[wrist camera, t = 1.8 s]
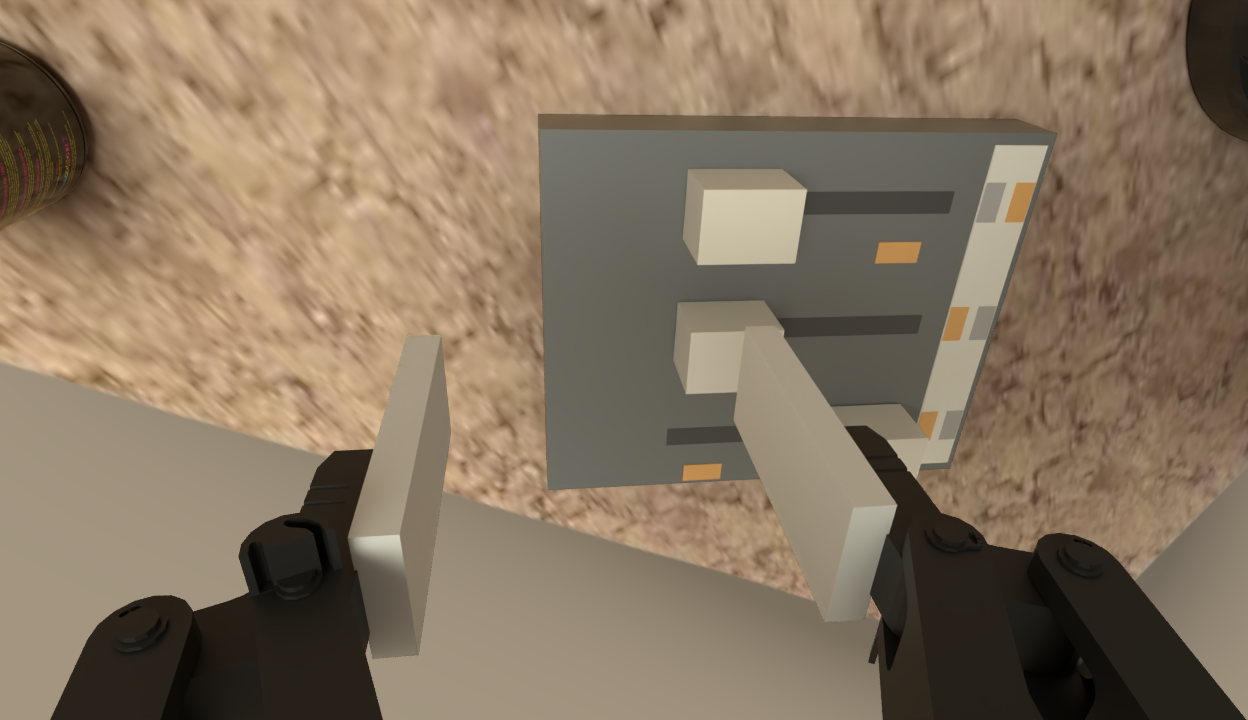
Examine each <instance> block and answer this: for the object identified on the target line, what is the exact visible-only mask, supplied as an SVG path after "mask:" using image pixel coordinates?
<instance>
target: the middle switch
mask: <svg viewBox="0 0 1248 720" xmlns="http://www.w3.org/2000/svg"><path fill="white" fill-rule="evenodd" d="M751 326H776V327H777V328H778V330H779V331H780V333H781V334H782V336H783V337H784V329H783V327H782V326H781V324H780V323H779V321H778V320H777V319H776V317H775V316H774V314H773V313H772V311H771V310H770V308H769V307H768V306H767V304H766V303H765V301H764V300H753V301H708V302H678V306H677V319H676V332H675V345H674V357H673V361H674V363H675V366H676V369H677V372H678V374H679V377H680V380H681V382H682V385H683V388H684V390H685V393H686V394H703V393H729V392H737V389H738V382H739V374H740V366H741V359H742V351H743V343H744V336H745V328H746V327H751Z"/></svg>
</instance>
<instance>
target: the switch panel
mask: <svg viewBox="0 0 1248 720" xmlns="http://www.w3.org/2000/svg"><path fill="white" fill-rule="evenodd" d="M1056 136H1057V133H1055V132H1052V131H1049V130H1046V129H1043V128H1040V127H1037V126H1034V125H1031V124H1028V123H1026V122H1023V121H1020V120H1017V119H952V118H857V117H762V116H667V115H572V114H538V137H539V178H540V219H541V260H542V301H543V342H544V383H545V424H546V460H547V480H548V490H562V489H581V488H599V487H618V486H636V485H655V484H673V483H692V482H711V481H729V480H748V479H760V477H759V475H758V473H757V471H756V469H755V466H754V464H753V462H752V460H751V458H750V455H749V453H748V451H747V449H746V446H745V444H744V442H743V440H742V438H741V435H740V433H739V431H738V429H737V427H736V424H735V422H734V412H735V404H736V397H737V392H729V393H703V394H686V393H685V390H684V388H683V385H682V382H681V380H680V377H679V374H678V372H677V369H676V366H675V363H674V361H673V357H674V345H675V332H676V319H677V306H678V302H708V301H753V300H764V301H765V303H766V304H767V306H768V307H769V308H770V310H771V311H772V313H773V314H774V316H775V317H776V319H777V320H778V321H779V323H780V324H781V326H782V327H783V329H784V339H785V340H786V342H787V343H788V344H789V346H790V347H791V349H792V350H793V352H794V353H795V355H796V356H797V358H798V359H799V361H800V362H801V364H802V365H803V367H804V368H805V370H806V371H807V373H808V374H809V375H810V377H811V378H812V380H813V381H814V383H815V384H816V386H817V387H818V389H819V390H820V392H821V393H822V395H823V396H824V398H825V399H826V401H827V402H828V404H829V405H830V406H831V407H834V406H858V405H882V404H901V406H902V407H903V408H904V409H905V410H906V412H907V413H908V414H909V415H910V416H911V418H912V419H913V420H914V421H915V422H916V424H917V425H918V426H919V427H920V428H921V430H922V431H923V432H924V433H925V434H926V436H927V437H928V438H929V439H928V442H927V445H926V449H925V452H924V455H923V459H922V462H921V466H920V469H919V470H933V469H950V466H951V463H952V460H953V457H954V454H955V450H956V447H957V444H958V441H959V438H960V435H961V432H962V429H963V426H964V422H965V419H966V416H967V413H968V410H969V407H970V404H971V401H972V398H973V394H974V391H975V388H976V385H977V382H978V379H979V376H980V373H981V370H982V366H983V363H984V360H985V357H986V354H987V351H988V348H989V345H990V342H991V338H992V335H993V332H994V329H995V326H996V323H997V320H998V317H999V314H1000V310H1001V307H1002V304H1003V301H1004V298H1005V295H1006V292H1007V289H1008V286H1009V282H1010V279H1011V276H1012V273H1013V270H1014V267H1015V264H1016V261H1017V258H1018V254H1019V251H1020V248H1021V245H1022V242H1023V239H1024V236H1025V233H1026V230H1027V227H1028V223H1029V220H1030V217H1031V214H1032V211H1033V208H1034V205H1035V202H1036V199H1037V195H1038V192H1039V189H1040V186H1041V183H1042V180H1043V177H1044V174H1045V171H1046V167H1047V164H1048V161H1049V158H1050V155H1051V152H1052V149H1053V146H1054V143H1055V139H1056ZM688 169H783V170H784V171H786V172H787V173H788V174H789V175H790V176H792V177H793V178H794V179H795V180H796V181H798V182H799V183H800V184H801V185H802V186H804V187H805V188H806V189H807V194H806V200H805V206H804V212H803V218H802V225H801V231H800V237H799V243H798V250H797V256H796V262H795V263H793V264H730V265H697V263H696V262H695V260H694V258H693V256H692V254H691V253H690V251H689V249H688V247H687V245H686V244H685V242H684V240H683V228H684V215H685V202H686V189H687V176H688Z"/></svg>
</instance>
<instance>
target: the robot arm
mask: <svg viewBox="0 0 1248 720" xmlns="http://www.w3.org/2000/svg"><path fill="white" fill-rule="evenodd" d="M1187 50H1188V64H1189V71H1190V76H1191V80H1192V84H1193V87H1194V90H1195V93H1196V95H1197V97H1198V99H1199V101H1200V103H1201V105H1202V107H1203V108H1204V110H1205V111H1206V113H1207V114H1208V115H1209V117H1210V118H1211V119H1212V120H1213V121H1214V122H1215V123H1216V124H1217V125H1219V126H1220V127H1221V128H1222V129H1224V130H1225V131H1227V132H1228V133H1230V134H1232V135H1234V136H1236V137H1238V138H1240V139H1243V140H1246V141H1248V0H1193V2H1192V7H1191V12H1190V19H1189V27H1188V43H1187ZM734 422H735V424H736V427H737V429H738V431H739V433H740V435H741V438H742V440H743V442H744V444H745V446H746V449H747V451H748V453H749V455H750V458H751V460H752V462H753V464H754V466H755V469H756V471H757V473H758V475H759V477H760V480H761V482H762V484H763V486H764V489H765V491H766V493H767V495H768V497H769V500H770V502H771V504H772V506H773V508H774V511H775V513H776V515H777V517H778V519H779V522H780V524H781V526H782V528H783V531H784V533H785V535H786V537H787V539H788V542H789V544H790V546H791V548H792V550H793V553H794V555H795V557H796V559H797V562H798V564H799V566H800V568H801V570H802V573H803V575H804V577H805V579H806V581H807V584H808V586H809V588H810V590H811V593H812V595H813V597H814V599H815V601H816V604H817V606H818V608H819V610H820V612H821V614H822V617H823V619H824V621H825V622H837V621H850V620H863V619H865V616H866V613H867V609H868V606H869V602H870V599H871V597H872V599H873V600H874V602H875V604H876V606H877V608H878V610H879V611H880V613H881V615H882V616H881V619H880V622H879V626H878V629H877V632H876V636H875V639H874V642H873V646H872V649H871V652H870V657H869V663H873V664H874V663H875V661H876V658H877V654H878V656H879V672H880V686H881V700H882V715H883V720H1246V719H1245V718H1244V716H1243V715H1242V714H1241V713H1240V711H1239V710H1238V709H1237V708H1236V707H1235V705H1234V704H1233V703H1232V701H1231V700H1230V699H1229V698H1228V696H1227V695H1226V694H1225V693H1224V691H1223V690H1222V689H1221V688H1220V687H1219V685H1218V684H1217V683H1216V682H1215V680H1214V679H1213V678H1212V677H1211V675H1210V674H1209V673H1208V672H1207V670H1206V669H1205V668H1204V667H1203V665H1202V664H1201V663H1200V662H1199V661H1198V659H1197V658H1196V657H1195V656H1194V654H1193V653H1192V652H1191V651H1190V650H1189V648H1188V647H1187V646H1186V645H1185V643H1184V642H1183V641H1182V639H1181V638H1180V637H1179V636H1178V634H1177V633H1176V632H1175V631H1174V629H1173V628H1172V627H1171V626H1170V625H1169V623H1168V622H1167V621H1166V620H1165V618H1164V617H1163V616H1162V615H1161V613H1160V612H1159V611H1158V610H1157V608H1156V607H1155V606H1154V605H1153V603H1152V602H1151V601H1150V600H1149V599H1148V597H1147V596H1146V595H1145V594H1144V592H1143V591H1142V590H1141V589H1140V587H1139V586H1138V585H1137V584H1136V582H1135V581H1134V580H1133V579H1132V577H1131V576H1130V575H1129V574H1128V572H1127V571H1126V570H1125V569H1124V567H1123V566H1122V565H1121V564H1120V563H1119V561H1118V560H1116V559H1115V558H1114V557H1113V556H1112V555H1111V554H1110V553H1109V552H1108V551H1107V550H1105V549H1103V548H1102V547H1100V546H1098V545H1097V544H1095V543H1093V542H1091V541H1089V540H1086V539H1083V538H1081V537H1078V536H1075V535H1069V534H1062V533H1056V534H1048V535H1045V536H1044V537H1042V538H1041V539H1039V540H1038V542H1037V545H1036V547H1035V549H1034V552H1033V553H1032V552H1026V551H1020V550H1014V549H1009V548H1003V547H997V546H993V545H989V544H987V542H986V540H985V538H984V537H983V535H982V534H981V533H980V532H978V531H977V530H976V529H975V528H974V527H973V526H972V525H970V524H968V523H966V522H964V521H962V520H960V519H959V518H956V517H952V516H949V515H946V514H941V512H940V511H939V510H938V508H937V507H936V506H935V504H934V503H933V502H932V500H931V499H930V498H929V496H928V495H927V494H926V492H925V491H924V490H923V488H922V487H921V486H920V484H919V483H918V482H917V480H916V479H915V478H914V476H913V475H912V473H911V472H910V471H907V467H906V465H905V464H904V463H903V461H902V460H901V459H900V458H898V455H897V453H896V452H895V451H894V449H893V448H892V447H891V445H890V444H889V443H888V441H887V440H886V439H885V438H884V437H882V436H881V435H879V434H878V433H876V432H875V431H874V430H872V429H871V428H869V427H868V426H866V425H862V426H843V424H842V423H841V421H840V420H839V418H838V417H837V415H836V414H835V412H834V411H833V409H832V408H831V406H830V405H829V404H828V402H827V401H826V399H825V398H824V396H823V395H822V393H821V392H820V390H819V389H818V387H817V386H816V384H815V383H814V381H813V380H812V378H811V377H810V375H809V374H808V373H807V371H806V370H805V368H804V367H803V365H802V364H801V362H800V361H799V359H798V358H797V356H796V355H795V353H794V352H793V350H792V349H791V347H790V346H789V344H788V343H787V342H786V340H785V339H784V337H783V336H782V334H781V333H780V331H779V330H778V328H777V327H776V326H751V327H746V328H745V336H744V343H743V351H742V359H741V366H740V374H739V382H738V389H737V397H736V404H735V412H734ZM450 436H451V426H450V416H449V407H448V397H447V387H446V378H445V368H444V358H443V348H442V339H441V335H412V336H407V338H406V341H405V345H404V348H403V352H402V355H401V358H400V362H399V365H398V369H397V372H396V375H395V379H394V382H393V385H392V389H391V392H390V396H389V399H388V402H387V406H386V409H385V413H384V416H383V419H382V423H381V426H380V429H379V433H378V436H377V440H376V443H375V446H374V449H367V450H345V451H334V452H333V453H332V454H331V455H330V456H329V457H328V458H327V459H326V460H325V461H324V462H323V463H322V464H321V465H320V466H319V467H318V468H317V470H316V472H315V475H314V478H313V480H312V483H311V485H310V490H308V493H307V495H306V498H305V500H304V506H302V508H301V511H300V513H295V514H290V515H283V516H280V517H278V518H275V519H273V520H270V521H268V522H265V523H264V524H262V525H261V526H259V527H258V528H257V529H255V530H254V531H252V532H251V533H250V534H249V535H248V537H247V538H246V539H245V540H244V542H243V543H242V544H241V548H240V552H239V560H240V563H241V566H242V570H243V573H244V576H245V579H246V582H247V586H248V589H249V592H248V593H246V594H245V595H243V596H240V597H238V598H235V599H233V600H230V601H227V602H224V603H220V604H217V605H214V606H211V607H207V608H204V609H200V610H197V611H194V612H193V610H192V609H191V607H190V606H189V605H188V603H187V602H186V601H185V600H183V599H180V598H177V597H175V596H172V595H169V596H151V597H148V598H144V599H141V600H137V601H134V602H132V603H130V604H128V605H126V606H124V607H122V608H120V609H118V610H116V611H114V612H113V613H112V614H111V615H109V616H108V617H107V618H106V619H105V620H103V621H102V622H101V623H99V625H97V627H96V628H95V630H94V631H93V633H92V634H91V635H90V637H89V638H88V640H87V642H86V644H85V646H84V648H83V650H82V653H81V655H80V657H79V659H78V661H77V663H76V665H75V668H74V670H73V672H72V674H71V676H70V678H69V681H68V683H67V685H66V687H65V689H64V692H63V694H62V696H61V698H60V700H59V702H58V705H57V706H56V709H55V711H54V713H53V715H52V717H51V720H383V719H382V715H381V711H380V707H379V703H378V700H377V696H376V692H375V688H374V685H373V681H372V677H371V673H370V670H369V666H368V662H367V658H366V654H365V653H366V649H367V644H368V640H369V644H370V648H371V654H372V658H373V659H375V658H388V657H402V656H414V655H419V649H420V642H421V636H422V629H423V622H424V615H425V608H426V601H427V595H428V587H429V581H430V574H431V567H432V560H433V552H434V546H435V539H436V533H437V526H438V519H439V512H440V505H441V497H442V491H443V484H444V477H445V471H446V464H447V457H448V450H449V443H450Z"/></svg>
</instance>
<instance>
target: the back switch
mask: <svg viewBox="0 0 1248 720" xmlns="http://www.w3.org/2000/svg"><path fill="white" fill-rule="evenodd" d="M831 408H832V409H833V411H834V412H835V414H836V415H837V417H838V418H839V420H840V421H841V423H842V424H843V426H862V425H866V426H868V427H869V428H871V429H872V430H874V431H875V432H876V433H878V434H879V435H881V436H882V437H884V438H885V439H886V440H887V441H888V443H889V444H890V445H891V447H892V448H893V449H894V451H895V452H896V453H897V455H898V458H900V459H901V460H902V461H903V463H904V464H905V465H906V467H907V471H910V472H911V473H912V475H913V476H914V478H915V479H917V476H918V472H919V469H920V466H921V462H922V459H923V455H924V452H925V449H926V445H927V442H928V439H929V438H928V437H927V436H926V434H925V433H924V432H923V431H922V430H921V428H920V427H919V426H918V425H917V424H916V422H915V421H914V420H913V419H912V418H911V416H910V415H909V414H908V413H907V412H906V410H905V409H904V408H903V407H902V406H901V404H882V405H858V406H834V407H831Z"/></svg>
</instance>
